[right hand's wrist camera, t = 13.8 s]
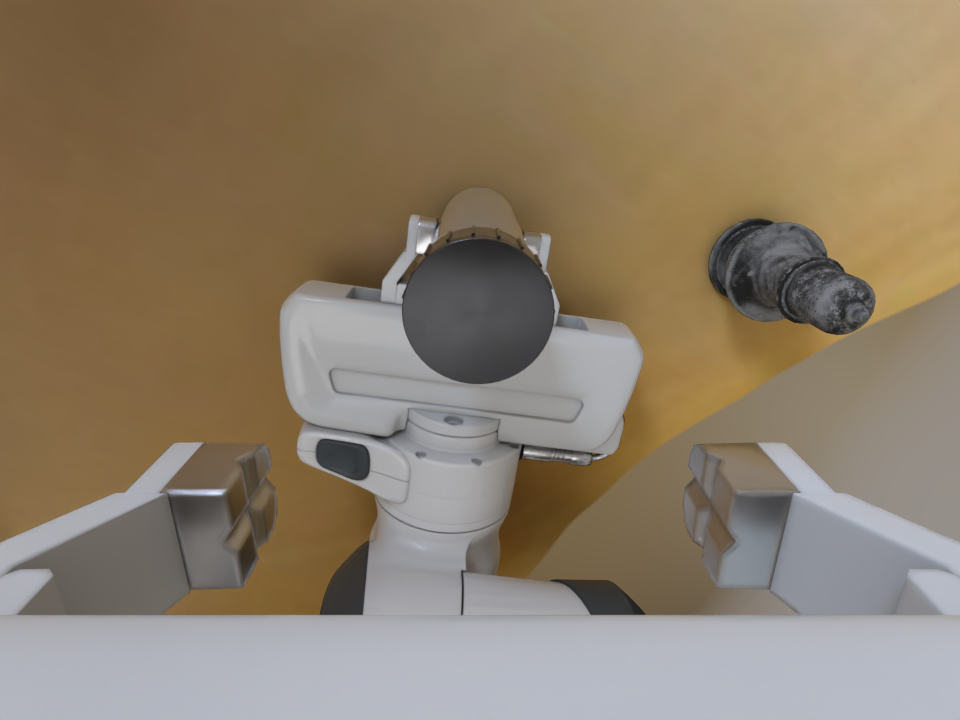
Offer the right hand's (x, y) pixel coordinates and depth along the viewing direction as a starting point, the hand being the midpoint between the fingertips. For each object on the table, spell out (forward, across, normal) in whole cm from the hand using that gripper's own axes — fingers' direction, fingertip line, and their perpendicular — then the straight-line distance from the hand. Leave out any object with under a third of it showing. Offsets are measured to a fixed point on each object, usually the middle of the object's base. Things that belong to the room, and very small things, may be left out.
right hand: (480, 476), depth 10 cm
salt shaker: (+28, -17, +2) cm, 33 cm away
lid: (+10, 0, 0) cm, 10 cm away
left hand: (+22, 0, -1) cm, 23 cm away
